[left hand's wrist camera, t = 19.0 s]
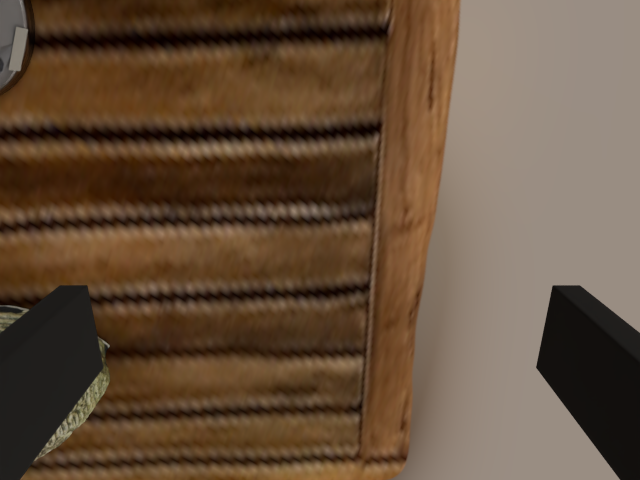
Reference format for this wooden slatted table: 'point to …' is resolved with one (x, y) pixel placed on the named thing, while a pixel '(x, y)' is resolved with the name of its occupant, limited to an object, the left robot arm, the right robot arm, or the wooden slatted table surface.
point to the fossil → (5, 317)
